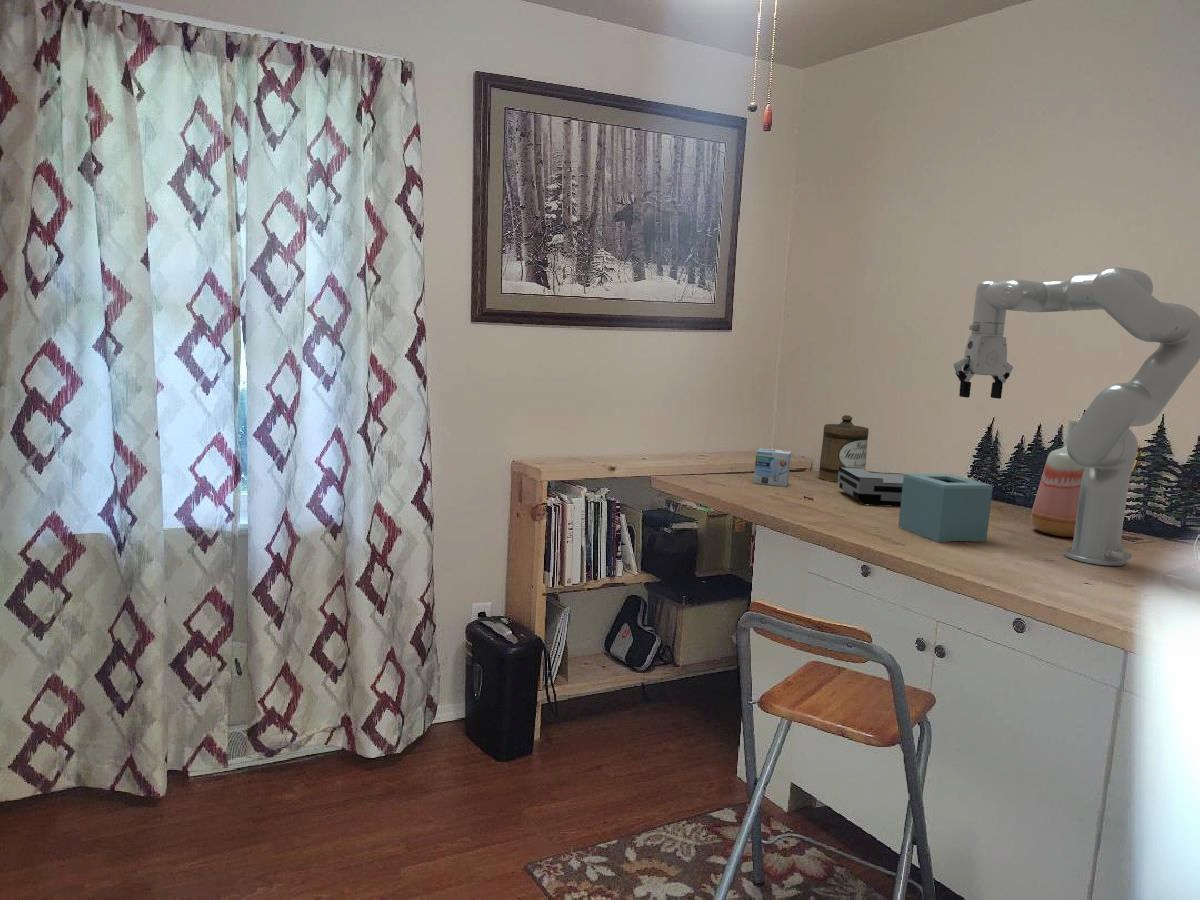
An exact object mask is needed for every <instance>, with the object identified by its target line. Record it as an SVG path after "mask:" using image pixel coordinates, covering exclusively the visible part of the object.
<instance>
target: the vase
mask: <svg viewBox="0 0 1200 900" xmlns="http://www.w3.org/2000/svg"><path fill="white" fill-rule="evenodd" d="M1078 421H1079V420H1068V425H1067V431H1066V437H1065V443H1064V445H1063V446H1062V447H1061V448H1060V447H1059V448H1056V449H1053V450H1052V451H1050V452H1049V454H1048V455H1047V458H1046V461H1045V466H1044V469H1043V470H1042V471H1043V472H1042V475H1041V478H1040V481H1039V484H1038V489H1037V492H1036V495H1035V499H1034V503H1033V506H1032V510H1031V514H1030V524H1031V525H1032V526H1033V528H1034V529H1036V530H1037V531H1038V532H1040V533H1043V534H1046V535H1051V536H1055V537H1062V538H1074V531H1075V524H1076V516H1077V508H1078V501H1079V493H1080V486H1081V480H1082V476H1083V472H1084V470H1085V467H1086V466H1081V465H1079V464H1077V463H1075V462H1074V461H1073V460H1072V459H1071V458H1070V457H1069V455H1068V452H1067V440H1068V437H1069V435H1070V433H1071V431H1072V430H1073V428H1074V427H1075V425H1076V424H1077V423H1078Z"/></svg>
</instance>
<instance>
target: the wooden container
mask: <svg viewBox="0 0 1200 900" xmlns="http://www.w3.org/2000/svg"><path fill="white" fill-rule="evenodd" d="M841 420H842V421H841V422H840V423H838V424H837V423H828V424H824V426H823V436H822V443H821V444H822V445H821V451H820V457H819V458H820V459H819V471H818V478H819V479H820V478H821V480H822V479H824V480H823V481H826V480H829V481H828V482H830V481H835V482H834V483H837V482H839V481H838V472H839V467H857V468H862V469H864V470H866V464H867V452H868V450H867V449H868V439H869V428H868V427H866V426H860V425H854V424H853V422H852V421H853V417H852V416H851V415H848V414H847V415H846V414H844V415H843V416H842V417H841Z"/></svg>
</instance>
